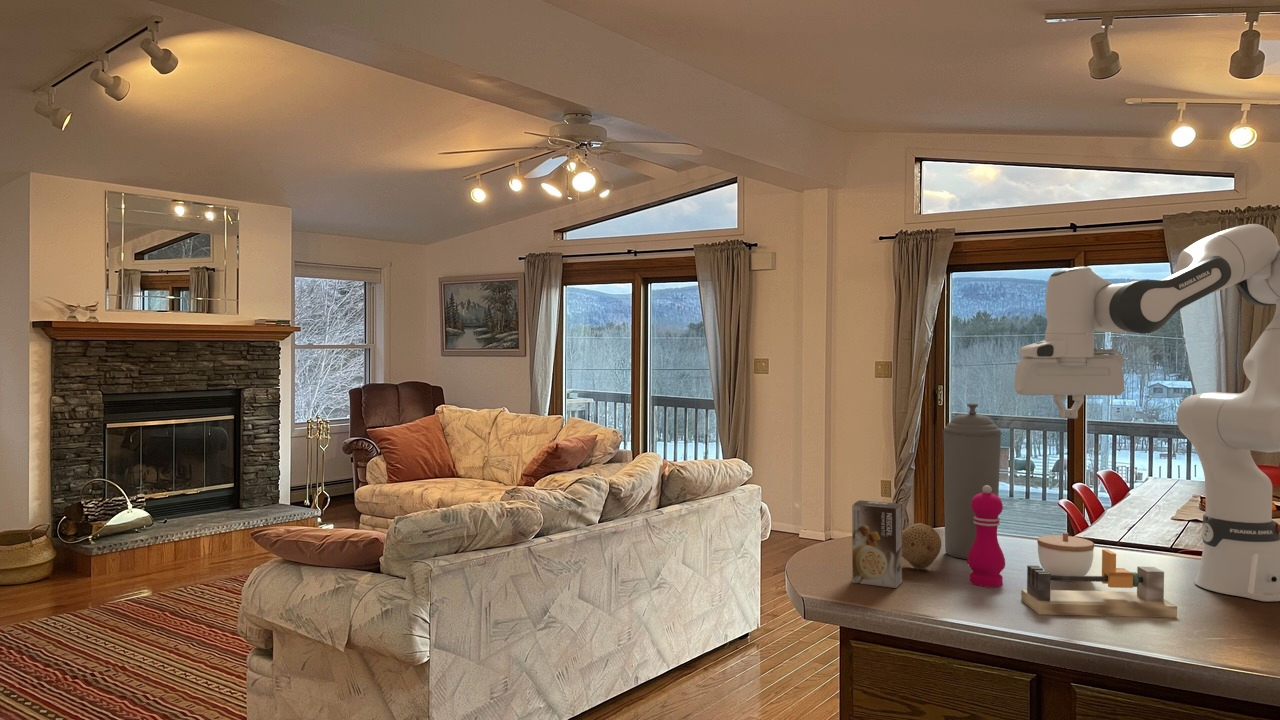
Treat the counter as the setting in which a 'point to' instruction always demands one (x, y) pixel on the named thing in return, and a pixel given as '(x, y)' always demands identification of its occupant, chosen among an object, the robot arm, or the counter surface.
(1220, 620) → the counter surface
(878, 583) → the coffee box
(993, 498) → the pepper mill
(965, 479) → the canister
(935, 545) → the natural sponge
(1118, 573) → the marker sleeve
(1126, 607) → the cord board
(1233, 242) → the robot arm
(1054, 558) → the lidded jar
